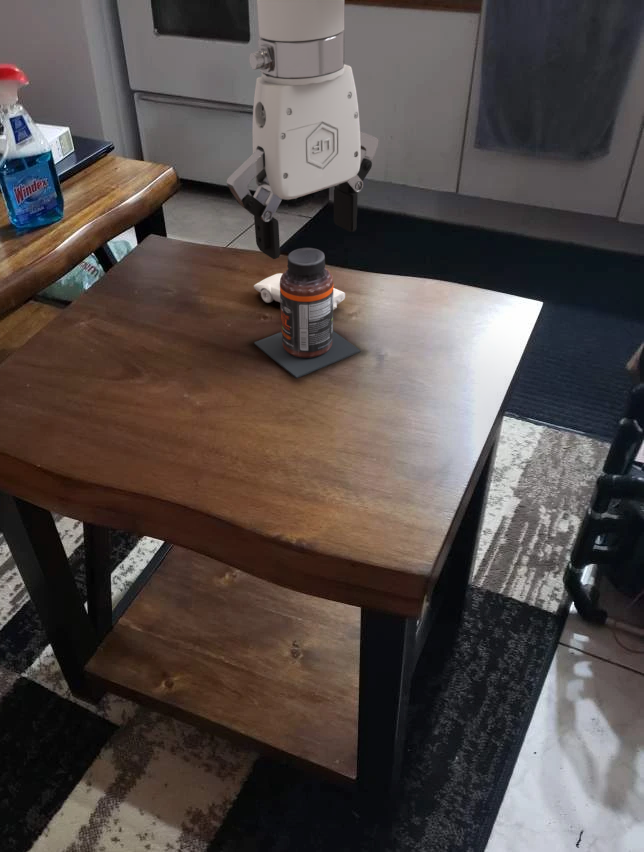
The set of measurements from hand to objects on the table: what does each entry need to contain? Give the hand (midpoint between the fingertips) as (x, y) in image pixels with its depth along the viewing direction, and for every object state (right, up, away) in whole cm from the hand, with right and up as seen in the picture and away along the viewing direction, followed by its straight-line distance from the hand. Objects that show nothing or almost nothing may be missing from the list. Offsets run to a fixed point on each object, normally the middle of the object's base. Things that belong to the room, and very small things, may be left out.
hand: (308, 240), depth 79 cm
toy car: (0, -2, +17) cm, 17 cm away
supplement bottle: (0, -9, +9) cm, 13 cm away
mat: (0, -9, +9) cm, 13 cm away
